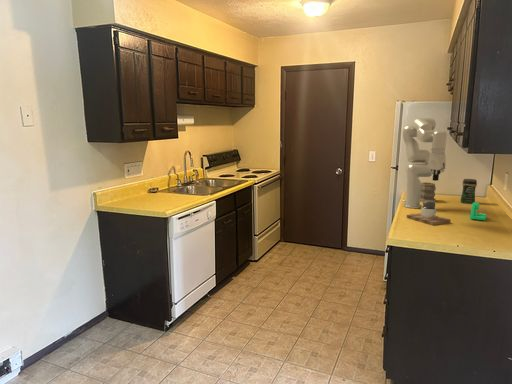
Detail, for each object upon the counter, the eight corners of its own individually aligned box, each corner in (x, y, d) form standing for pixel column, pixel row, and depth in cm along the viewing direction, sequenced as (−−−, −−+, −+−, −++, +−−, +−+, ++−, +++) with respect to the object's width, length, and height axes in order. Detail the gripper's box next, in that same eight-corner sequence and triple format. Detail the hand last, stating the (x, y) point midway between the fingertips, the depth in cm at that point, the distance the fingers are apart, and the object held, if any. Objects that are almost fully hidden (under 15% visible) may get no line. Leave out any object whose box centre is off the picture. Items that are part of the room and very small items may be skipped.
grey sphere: (419, 211, 231) (420, 200, 230) (428, 210, 234) (428, 200, 232) (428, 214, 225) (429, 202, 223) (437, 213, 227) (438, 202, 226)
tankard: (434, 199, 295) (436, 181, 292) (435, 202, 283) (437, 183, 280) (407, 198, 302) (409, 180, 299) (407, 200, 290) (409, 182, 288)
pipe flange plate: (406, 217, 236) (407, 205, 235) (423, 215, 242) (424, 203, 240) (432, 225, 218) (433, 212, 217) (450, 222, 224) (451, 210, 222)
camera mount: (483, 221, 227) (485, 205, 225) (469, 219, 231) (471, 204, 229) (486, 218, 236) (488, 202, 234) (472, 216, 240) (474, 201, 239)
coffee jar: (461, 203, 281) (463, 179, 278) (459, 201, 288) (462, 177, 285) (475, 204, 277) (478, 179, 274) (474, 202, 284) (476, 178, 281)
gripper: (424, 150, 234) (421, 178, 237) (443, 152, 220) (440, 182, 224) (433, 150, 236) (430, 178, 240) (452, 152, 223) (449, 181, 226)
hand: (435, 180), depth 232 cm, fingers closed
